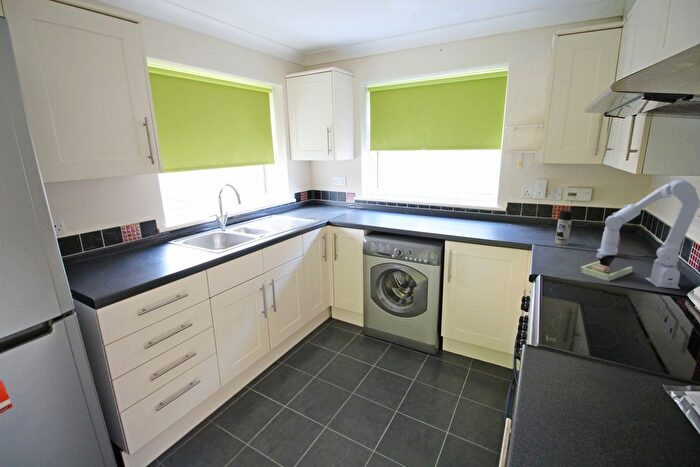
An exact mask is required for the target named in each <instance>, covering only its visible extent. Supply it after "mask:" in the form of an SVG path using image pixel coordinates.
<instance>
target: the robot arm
mask: <svg viewBox="0 0 700 467" xmlns="http://www.w3.org/2000/svg"><path fill="white" fill-rule="evenodd" d="M672 196H674V197H675V198H677V199H678V200H679V202H680V203H681V206H680V208H679V211H678V213H677V215H676V218H675V220H674V221H673V224H672V226H671V228H670V230H669V233H668V235H667V237H666V239H665V241H663V243H662V245H661V246H660V247H659V248H657V250H656V256H657V258H656V259H654V261H653V265H652V270H651V274H650V277H645V280H647V281H648V282H649V283H651V285H654V286H655V287H656V288H657V287H658V288H669V289H678V290H679V289H680V286H678V284H679V282H680V278H681V272H680V271H679V269H678V268H677V267H678V262H679V261H680V256H679V253H680V251H681V247H682V244H683V241H684V239H685V237H686V235H687V233H688V230H689V228H690V226H691V224H692V222H693V220H694V218H695V215H696V214H697V211H698V209H699V207H700V198H699V195H698V192H697V191H696V187H694V186H693V185H692V184H691V183H690V182H689V181H687V180H685V179H683V178H677V179H673V180H671V181H670V182H669V183H668V182H667V183H666V184H664V185H661V186H660V187H659V188H657V189H655V190H654V191H652V192H651V193H649V194H648V195H647V196H645V197H644V198H642V199H640V200H639V201H638V202H636V203H629V204H625V205H623V208H621V209H619V210H618V211H615V212H613V213H612V214H611V215H609V216H607V218H606V219H605V221H604V222H605V223H604V224H605V227H604V231H603V233H602V239H601V244H600V248H597V249H596V251H597V252H596V256H595V257H596V258H597V259H598V261H600V265H604V266H608V267H609V268H610V266H611V264H612V262H614V260H615V259H616V258H617V257H616V256H617V255H615V254H616V253H617V254H618V252H619V248H618V249H616V248H617V243H618V238H619V236H620V235H619V234H620V229H621V228H622V226H623V224H626V223H628V222H630V221H631V220H633V219H634V218H636V217H638V216H639V215H641V211H642V210H644V209H645V208H647V207H648V206H650V205H651V204H654V203H656V202H657V201H659V200H661V199H666V198H667V199H668V198H672ZM613 255H615V256H613Z"/></svg>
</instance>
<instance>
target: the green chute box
mask: <svg viewBox="0 0 700 467" xmlns="http://www.w3.org/2000/svg"><path fill="white" fill-rule="evenodd" d="M595 264H600V260H598V261H594V262H591V263H588V264H586V265H582V266H580V267H579V269H578V273H581V274H583V273H584V275H586V274H587V275H586V276H590V275H591V276H590V277H593V276H594V277H593V278H596V277H597V279H600V280H603V281H606V280H607V282H610V280H611V281H613V280H615V279H618V278H621V277H623V276H626V275H628V274H631V273H632V272H633V269H634V267H633V266H627V267H624V268H622V269H619V270H617V271H613V272H611V273H608V274H605V273H601V272H598V271H594V270H591V266H592V265H595Z"/></svg>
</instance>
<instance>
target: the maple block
mask: <svg viewBox="0 0 700 467" xmlns="http://www.w3.org/2000/svg"><path fill="white" fill-rule="evenodd" d="M591 270H594V271H598V272H601V273H605V274H609V272H610V266H609V267H608V266H604V265H600V264H595V265H592V266H591Z"/></svg>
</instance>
